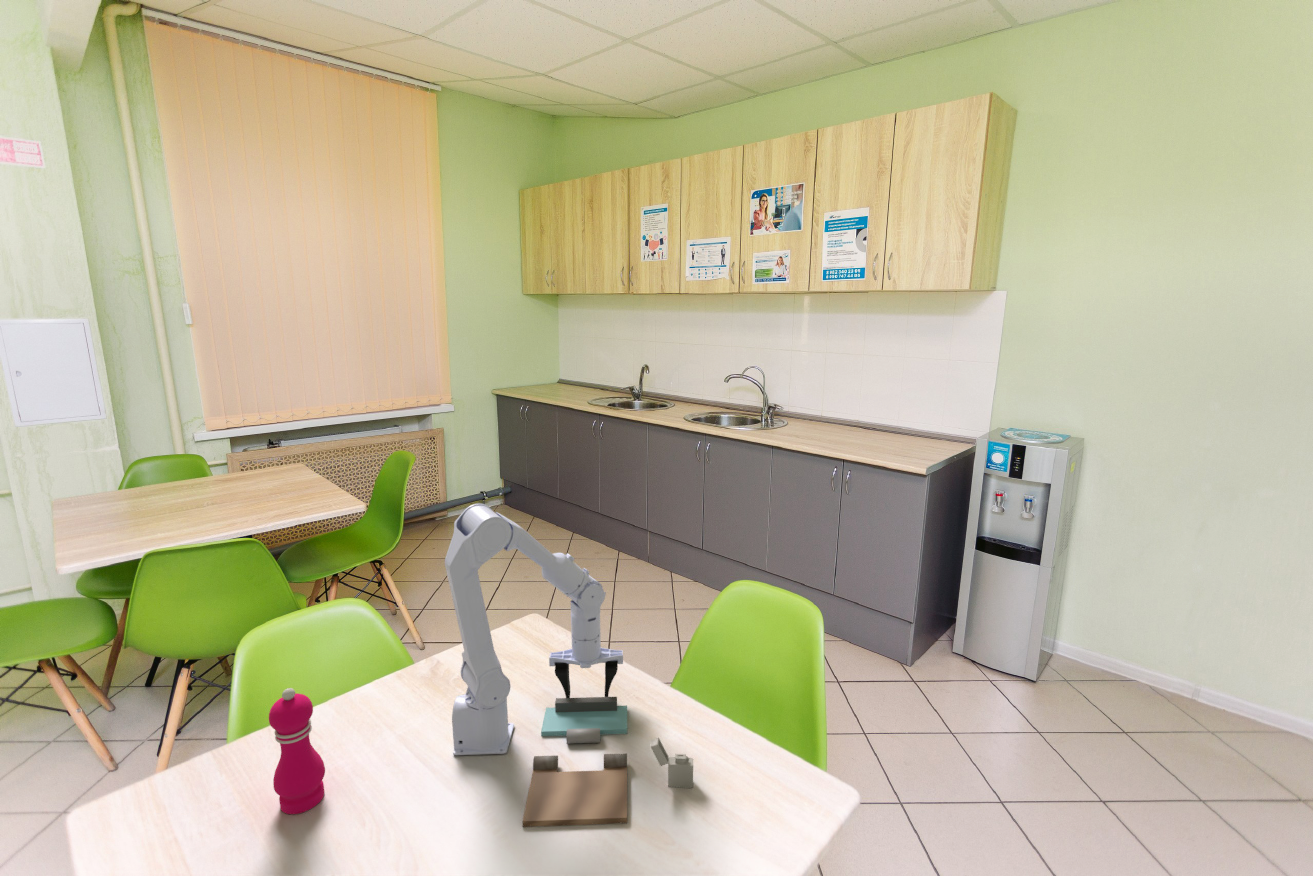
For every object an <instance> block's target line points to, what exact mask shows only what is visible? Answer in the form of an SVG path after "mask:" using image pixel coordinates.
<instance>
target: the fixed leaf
mask: <svg viewBox="0 0 1313 876" xmlns="http://www.w3.org/2000/svg"><path fill="white" fill-rule="evenodd" d="M532 761H533V762H532V774H531V778H530V783H529V788H528V793H527V798H526V802H525V808H524V812H523V817H522V820H521V821H522V828H526V827H529V828H530V827H531V828H532V827H553V826H554V827H556V826H559V827H560V826H561V827H562V826H582V825H583V826H584V825H585V826H586V825H613V824H615V825H616V824H627V823H628V753H625V752H624V753H623V752H622V753H604V754H603V770H581V771H579V770H578V771H577V770H575V771H558V770H559V769H558V768H559V755H537V756H536V755H534V756H533V760H532Z"/></svg>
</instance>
